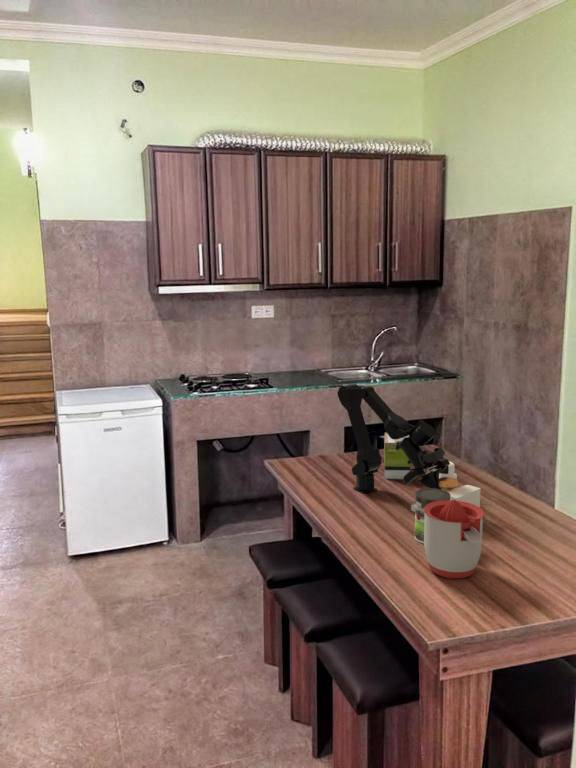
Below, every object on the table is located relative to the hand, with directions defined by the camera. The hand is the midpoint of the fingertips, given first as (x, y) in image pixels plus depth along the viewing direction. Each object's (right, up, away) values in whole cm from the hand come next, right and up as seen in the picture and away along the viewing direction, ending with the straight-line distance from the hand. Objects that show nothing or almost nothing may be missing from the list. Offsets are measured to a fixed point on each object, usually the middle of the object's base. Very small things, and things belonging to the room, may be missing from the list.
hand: (441, 493), depth 219 cm
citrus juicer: (-5, -15, -38) cm, 41 cm away
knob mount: (+1, -7, +1) cm, 7 cm away
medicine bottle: (+6, -4, +19) cm, 20 cm away
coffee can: (-7, -11, -17) cm, 21 cm away
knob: (+2, -5, -1) cm, 5 cm away
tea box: (-7, 0, +44) cm, 44 cm away
